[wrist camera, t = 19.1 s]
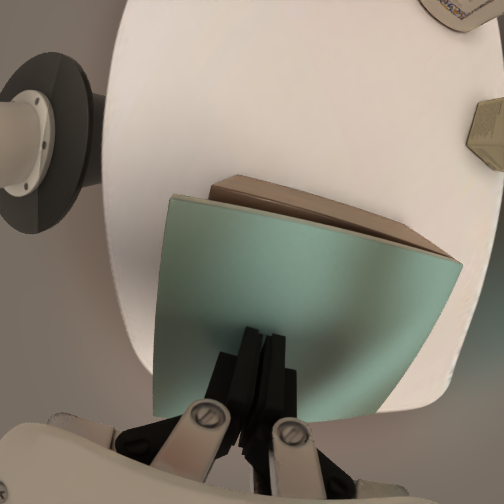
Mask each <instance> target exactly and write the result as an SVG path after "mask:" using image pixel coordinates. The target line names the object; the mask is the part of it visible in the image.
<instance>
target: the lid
mask: <svg viewBox="0 0 504 504" xmlns="http://www.w3.org/2000/svg"><path fill="white" fill-rule="evenodd" d="M462 267H463V264H461V263H460V262H458V261H457V260H455V259H452V258H449V257H446V256H442V255H439V254H435V253H432V252H428V251H425V250H421V249H418V248H414V247H411V246H407V245H403V244H400V243H396V242H392V241H389V240H385V239H381V238H377V237H373V236H369V235H366V234H362V233H358V232H354V231H350V230H346V229H341V228H337V227H333V226H329V225H325V224H321V223H316V222H312V221H308V220H303V219H299V218H294V217H290V216H285V215H281V214H276V213H271V212H267V211H262V210H257V209H252V208H247V207H242V206H237V205H232V204H227V203H222V202H217V201H211V200H206V199H201V198H195V197H190V196H184V195H178V194H173V195H172V196H171V198H170V200H169V205H168V211H167V218H166V224H165V231H164V239H163V246H162V254H161V262H160V271H159V281H158V291H157V303H156V316H155V332H154V353H153V416H156V417H162V418H172V417H176V416H179V415H182V414H184V412H185V411H186V409H187V407H188V406H189V405H190V404H191V403H192V402H194V401H195V400H198V399H203V398H204V396H205V394H206V391H207V388H208V385H209V382H210V379H211V376H212V373H213V370H214V367H215V364H216V361H217V358H218V355H219V352H220V351H221V352H225V353H228V354H232V355H236V356H238V352H239V349H240V346H241V342H242V339H243V335H244V332H245V328H246V326H247V327H251V328H255V329H258V330H259V333H260V334H263V339H262V345H261V350H262V347H263V344H264V342H265V339H266V336H267V335H268V336H272V334H273V333H274V334H278V335H283V336H286V350H285V368H290V369H294V370H296V371H297V418H298V419H300V420H303V421H304V422H305V423H307V422H319V421H329V420H337V419H345V418H352V417H358V416H365V415H371V414H375V413H376V411H377V410H378V409H379V408H380V406H381V405H382V404H383V403H384V401H385V400H386V399H387V397H388V396H389V395H390V393H391V392H392V391H393V389H394V388H395V387H396V385H397V384H398V383H399V381H400V380H401V378H402V377H403V375H404V374H405V372H406V371H407V369H408V368H409V366H410V365H411V363H412V362H413V360H414V359H415V357H416V356H417V354H418V353H419V351H420V349H421V348H422V346H423V344H424V343H425V341H426V339H427V338H428V336H429V334H430V332H431V331H432V329H433V327H434V325H435V323H436V322H437V320H438V318H439V316H440V314H441V312H442V310H443V308H444V306H445V304H446V302H447V300H448V298H449V296H450V294H451V292H452V290H453V288H454V286H455V284H456V281H457V279H458V277H459V275H460V272H461V270H462ZM260 353H261V352H260Z"/></svg>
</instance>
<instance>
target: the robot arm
mask: <svg viewBox="0 0 504 504" xmlns="http://www.w3.org/2000/svg"><path fill="white" fill-rule="evenodd" d="M54 143H55V119H54V112H53V109H52V106H51V103H50V101H49V99H48V98H47V96H45V95H44V94H43V93H42V92H40V91H37V90H25V91H23V92H21V93H19V94H18V95H17V96H15V97H14V98H13V99H12V101H11V102H0V188H3V187H4V189H5V190H6V191H7V192H8V193H9V194H11V195H13V196H17V197H21V196H25V195H28V194H30V193H32V192H33V191H34V190H36V189H37V188H38V186H39V185H40V184H41V183H42V181H43V179H44V177H45V175H46V173H47V171H48V168H49V165H50V162H51V158H52V155H53V149H54ZM262 339H263V334H260V333H259V330H258V329H255V328H251V327H247V326H246V328H245V332H244V335H243V339H242V342H241V346H240V349H239V352H238V356H236V355H232V354H228V353H225V352H221V351H220V352H219V355H218V358H217V361H216V364H215V367H214V370H213V373H212V376H211V379H210V382H209V385H208V388H207V391H206V394H205V396H204V398H203V399H198V400H195V401H194V402H192V403H191V404H190V405H189V406H188V407H187V409H186V411H185V412H184V414H182V415H179V416H176V417H172V418H169V419H166V420H162V421H159V422H156V423H152V424H148V425H145V426H141V427H137V428H132V429H128V430H126V431H119V430H115V428H114V427H111V426H108V425H104V424H100V423H97V422H93V421H90V420H87V419H83V418H80V417H77V416H74V415H71V414H68V413H63V412H61V413H56V414H54V415H52V416H51V417H50V419H49V420H48V423H47V425H45V424H40V423H23V424H20V425H18V426H16V427H14V428H13V429H11V430H10V431H9V432H8V433H7V434H6V435H5V436H4V437H3V438H2V439H1V440H0V504H437V503H436V502H433V501H431V500H427V499H423V498H417V497H409V493H408V492H407V490H406V489H405V488H404V487H402V486H399V485H393V484H385V483H379V482H372V481H367V480H361V479H358V480H357V481H355V480H352V478H351V477H350V476H349V475H347V474H346V473H345V472H344V471H343V470H341V469H340V468H339V467H338V466H337V465H335V464H334V463H333V462H332V461H331V460H330V459H329V458H327V457H326V456H325V455H324V454H323V453H322V452H321V451H319V450H318V449H317V448H316V444H315V439H314V435H313V432H312V429H311V428H310V427H309V425H308V424H307V423H305V422H304V421H303V420H300V419H298V418H297V371H296V370H294V369H290V368H285V350H286V336H283V335H278V334H274V333H273V334H272V336H268V335H267V336H266V339H265V342H264V344H263V347H262V350H261V345H262ZM260 352H261V353H260ZM240 432H241V434H240ZM239 434H240V439H239V445H238V446H239V447H242V448H243V450H242V455H245V459H246V460H247V461H248V462H249V463H250V468H249V473H250V493H247V492H241V491H236V490H231V489H226V488H221V487H217V486H213V485H208V484H205V481H206V479H207V477H208V475H209V473H210V471H211V469H212V467H213V465H214V463H215V460H216V459H218V458H220V457H222V456H225V455H227V454H228V452H229V450H230V447H231V445H233V446H234V445H235V443H236V441H237V438H238V436H239Z"/></svg>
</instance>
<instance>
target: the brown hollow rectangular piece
mask: <svg viewBox="0 0 504 504" xmlns="http://www.w3.org/2000/svg"><path fill="white" fill-rule="evenodd" d="M208 200H211V201H217V202H222V203H227V204H232V205H237V206H242V207H247V208H252V209H257V210H262V211H267V212H271V213H276V214H281V215H285V216H290V217H294V218H299V219H303V220H308V221H312V222H316V223H321V224H325V225H329V226H333V227H337V228H341V229H346V230H350V231H354V232H358V233H362V234H366V235H369V236H373V237H377V238H381V239H385V240H389V241H392V242H396V243H400V244H403V245H407V246H411V247H414V248H418V249H421V250H425V251H428V252H432V253H435V254H439V255H442V256H446V257H449V258H452V259H454V258H453V257H452V256H450V255H449V254H447V253H446V252H445V251H443V250H442V249H440V248H439V247H437V246H436V245H435V244H433V243H432V242H430V241H429V240H427V239H426V238H424V237H423V236H421V235H420V234H418V233H417V232H415V231H414V230H412V229H410V228H409V227H408V226H406V225H404V224H401V223H399V222H396V221H393V220H390V219H388V218H385V217H382V216H379V215H376V214H373V213H370V212H367V211H364V210H361V209H358V208H355V207H352V206H349V205H346V204H343V203H340V202H336V201H333V200H330V199H327V198H323V197H320V196H317V195H313V194H310V193H306V192H303V191H299V190H296V189H292V188H289V187H285V186H281V185H277V184H274V183H270V182H266V181H262V180H258V179H254V178H250V177H246V176H242V175H236V176H233V177H231V178H228V179H226V180H223V181H221V182H218V183H216V184H213V185H212V186H211V189H210V194H209V198H208Z"/></svg>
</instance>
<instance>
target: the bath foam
mask: <svg viewBox="0 0 504 504" xmlns="http://www.w3.org/2000/svg"><path fill="white" fill-rule="evenodd" d="M420 1H421V2H422V4H423V5H424V6H425V8H426V9H427V10H428V11H429V12H430V13H431V14H432V15H433V16H434V17H435V18H437V19H438V20H439V21H440V22H442V23H443V24H445V25H447V26H448V27H450V28H452V29H455V30H458V31H463V32H466V31H471V30H473V29H475V28H476V27H478V26H480V25H483V24H484V23H486V22H488V21H490V20H492V19H494V18H496V17H498V16H500V15H502V14H504V0H420Z"/></svg>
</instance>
